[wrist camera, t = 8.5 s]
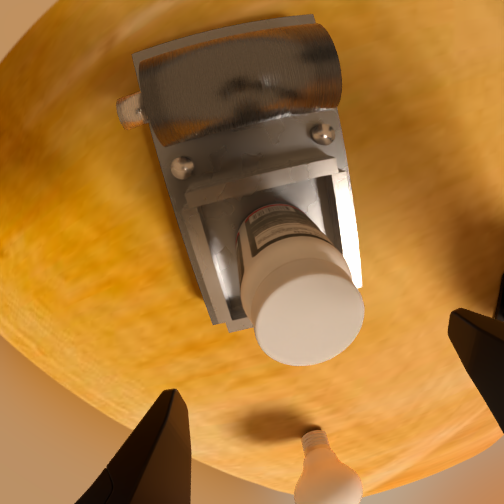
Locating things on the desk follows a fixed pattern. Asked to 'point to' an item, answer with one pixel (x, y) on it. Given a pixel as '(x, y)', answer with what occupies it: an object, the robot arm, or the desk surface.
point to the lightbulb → (325, 475)
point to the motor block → (246, 141)
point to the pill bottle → (295, 287)
